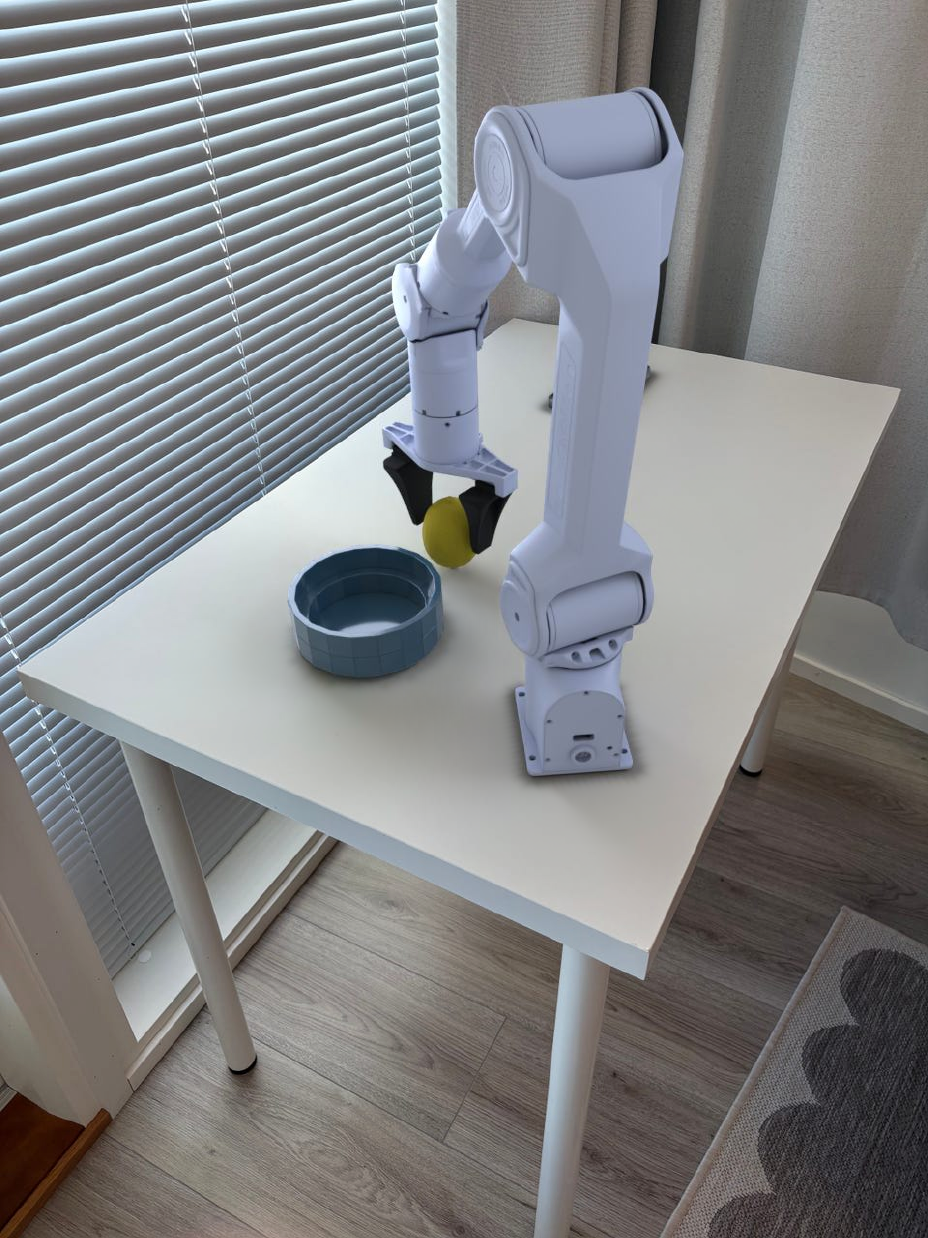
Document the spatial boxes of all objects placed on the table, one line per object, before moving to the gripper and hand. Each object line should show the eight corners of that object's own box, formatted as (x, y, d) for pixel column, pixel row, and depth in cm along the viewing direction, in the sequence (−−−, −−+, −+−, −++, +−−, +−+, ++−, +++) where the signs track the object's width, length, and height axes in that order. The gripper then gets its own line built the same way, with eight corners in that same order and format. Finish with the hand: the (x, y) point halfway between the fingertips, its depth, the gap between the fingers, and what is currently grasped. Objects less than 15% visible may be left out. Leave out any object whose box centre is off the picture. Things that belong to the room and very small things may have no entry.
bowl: (447, 676, 80) (445, 631, 77) (291, 687, 80) (282, 642, 77) (440, 583, 91) (437, 540, 87) (301, 592, 90) (293, 549, 87)
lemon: (475, 587, 90) (473, 516, 85) (418, 581, 91) (413, 510, 86) (486, 553, 94) (484, 484, 89) (431, 548, 95) (427, 479, 90)
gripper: (540, 409, 80) (537, 542, 89) (415, 364, 87) (424, 491, 96) (486, 441, 76) (489, 577, 84) (360, 392, 83) (374, 521, 92)
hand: (451, 534), depth 90 cm, fingers open, 7 cm apart
